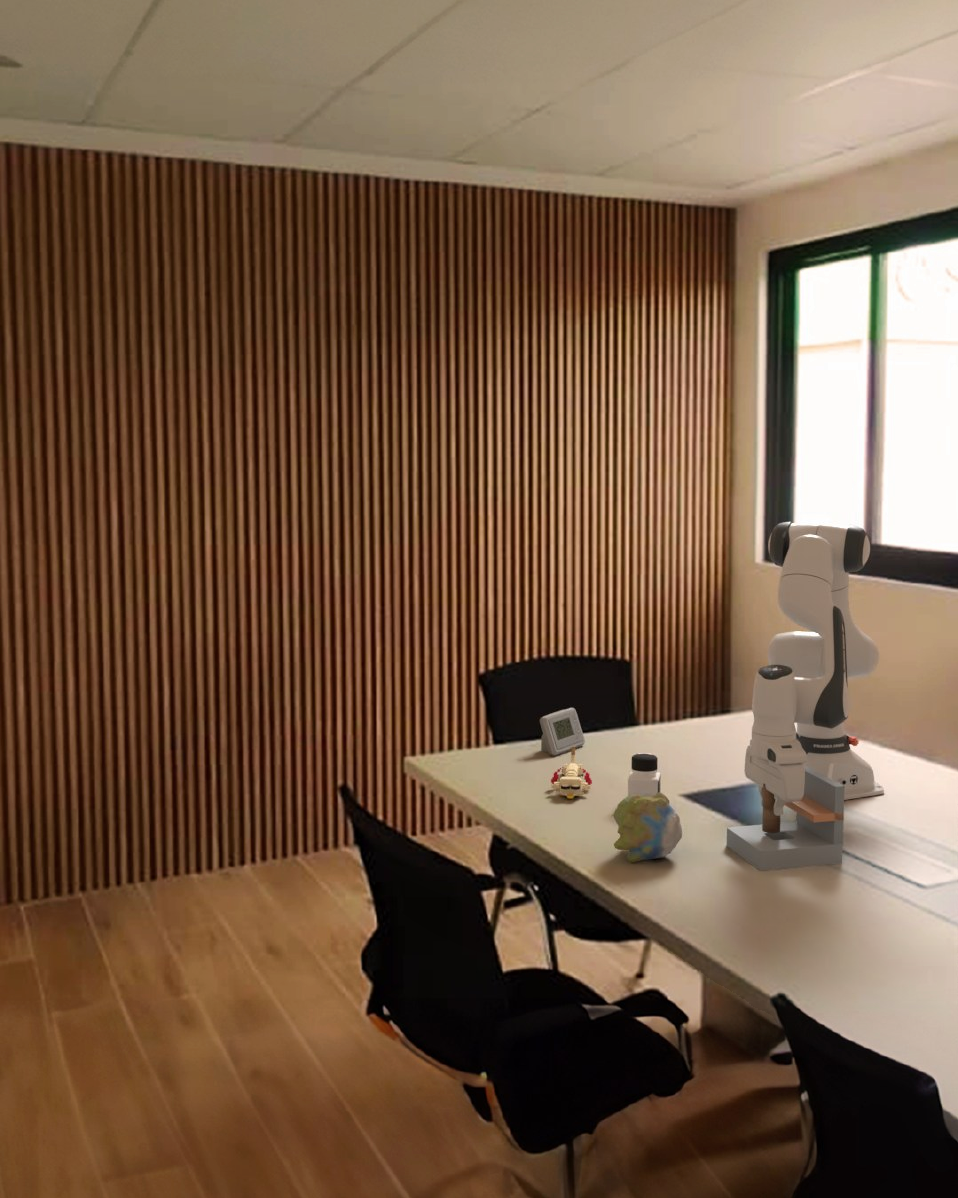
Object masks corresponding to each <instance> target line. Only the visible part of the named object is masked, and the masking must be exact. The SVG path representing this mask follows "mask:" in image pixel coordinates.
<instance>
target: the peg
mask: <svg viewBox="0 0 958 1198" xmlns="http://www.w3.org/2000/svg"><path fill="white" fill-rule="evenodd" d="M775 800H776V799H774V794H772V793H771V792H769V791H768V790H767V789H766V784H764V783H763V807H762V824H761V825H762V831H764V832H767V833H778V832H780V823H781V815H779V816H776V815H775V814H773V813H772V805H774V804H775Z"/></svg>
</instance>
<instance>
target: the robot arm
mask: <svg viewBox="0 0 958 1198" xmlns="http://www.w3.org/2000/svg"><path fill="white" fill-rule="evenodd" d="M870 543H871V542H870V539H869V536H868V533H867V532H866V531H865V530H864V528H862V527H859V526H856V525H852V524H850V525H845V524H839V523H833V522H793V521H785V522H784V521H783V522H780V523H778V524H776V525H775V526H774V527H773V528H772V531H771V533H770V535H769V539H768V544H767V545H768V546H767V549H768V553H769V558H770V560H771V562H772V563H773V564H775V566H778V567H780V568H781V571H780V575H779V576H780V577H779V582H778V588H777V604H778V606H779V608H780V611H781V612H782V613H783V615H784V616H785V617H786V618H788V619H789V620H790V621H791V622H793V623H794V624H797V625H798V626H800V627H802V628H805V629H807V630H808V631H803V630H802V631H800V630H794V631H786V632H781V633H777V634H775V635H774V636H773V637H772V638H771V640H770V642H769V643H768V646H767V650H766V656H767V661H768V665H763V666H762V667H760V668H759V669H757V670H756V672H755V673H756V674H755V676H754V677H755V678H754V681H753V682H754V683H753V688H752V689H753V690H752V699H751V700H752V702H751V703H752V704H751V711H752V714H753V724H752V727H751V739H750V740H749V745H748V746H747V747H746V750H745V756H744V757H745V758H744V775H745V777H746V779H748V780H750V781H751V782H753V783H754V784H756V785H757V786H758V793H759V796H760V799H761V800H760V802H761V807H762V808H763V783H764V784H766V789H767V790H768V791H769V792H771V793H772V794H774V799H776V800H775V804H774V805H772V813H773V814H775V815H776V816H779V815H780V816H782V815H784V807H785V803H786V802H796V801H801V799H802V798H803V795H804V785H805V769H804V766H807V767H809V768H811V769H813V770H814V771H816V772H818V773H820V774H822V775H824V776H826V777H828V778H830V779H832V780H834V781H836V782H841V783H842V785H843V786H845V789H844V801H845V800H846V801H847V800H851V799H853V800H854V799H859V798H864V797H871V796H872V797H873V796H877V795H878V796H879V795H883V794H884V793H885V790H884V787H883V786H882V785H881V784H880V783H877V782H876V781H875V775H874V770H873V768H872V766H871V765H870V764H869V763H868V762H867V761H866V760H865V759H863V758H862V757H861V756H859V754H857V752H855V751H854V750H852V749H851V746H850V745H852V746H853V747H857V746H858V744H860V740H859V738H858V737H855V736H852V735H851V736H850V735H847V734H846V733H845V721H846V720H847V719H848V717H849V714H850V709H851V699H850V698H851V696H850V692H849V684H848V679H849V680H851V679H859V678H865V677H869V676H870V675H872V674H873V673H874V671H875V670H876V669H877V667H878V664H879V660H880V652H879V649H878V646H877V644H876V642H875V641H874V639H872V637H870V636H869V635H868V634H866V633H865V632H864V631H862V630H861V629H860V628H859V626H858V625H857V624H856V623H855V621H854V619H853V618H852V614H851V611H850V602H849V582H850V580H849V579H850V574H849V573H856V572H859V571H861V570H862V569H863V568H864V567H865V565H866V563H867V561H868V559H869V557H870V553H871V544H870ZM795 724H796V726H795Z"/></svg>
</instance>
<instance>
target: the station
mask: <svg viewBox="0 0 958 1198" xmlns="http://www.w3.org/2000/svg"><path fill="white" fill-rule="evenodd" d="M804 769H805V785H804V795H803V798H802V799H801V801H796V802H786V803H785V805H784V807H787V808H789V809H790V810H793V812H795V813H796V818H795V819H796V821H790V822H780V832H778V833H767V832H764V831H762V824H752V825H740V826H732V827H731V826H729V827H726V847H728V848H729V849H730V850H732V851H733V852H734V853H735V854H736V855H738V856H739V857H741V858H742V859H743V860H745V861H746V862H748V863H749V864H751V866H753V867H755V868H756V869H757V870H759V871H773V870H780V869H794V868H802V867H803V868H805V867H815V866H823V865H826V866H827V865H836V864H843V855H844V854H843V852H844V851H843V849H844V848H843V847H844V846H843V845H844V821H845V820H844V816H845V800H844V789H845V786H843V785H841V784H839V783H837V782H836V781H834V780H832V779H830V778H828V777H826V776H824V775H822V774H820V773H818V772H816V771H814V770H813V769H811V768H809V767H807V766H804Z"/></svg>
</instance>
